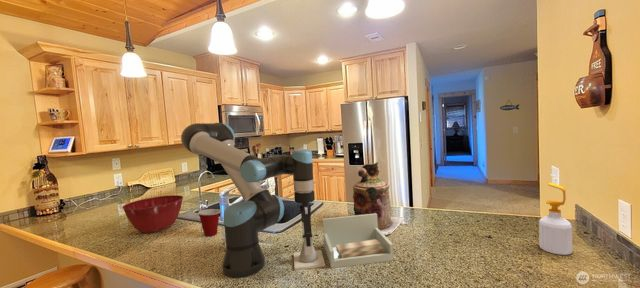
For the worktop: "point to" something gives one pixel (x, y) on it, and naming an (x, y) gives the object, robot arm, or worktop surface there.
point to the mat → (306, 265)
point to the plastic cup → (209, 221)
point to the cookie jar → (374, 199)
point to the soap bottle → (555, 228)
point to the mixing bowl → (153, 213)
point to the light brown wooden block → (359, 249)
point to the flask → (307, 257)
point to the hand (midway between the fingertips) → (307, 246)
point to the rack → (355, 238)
